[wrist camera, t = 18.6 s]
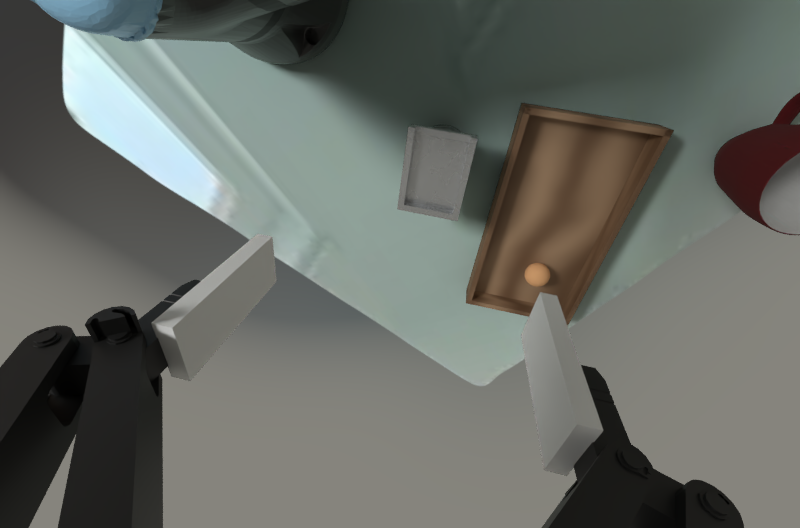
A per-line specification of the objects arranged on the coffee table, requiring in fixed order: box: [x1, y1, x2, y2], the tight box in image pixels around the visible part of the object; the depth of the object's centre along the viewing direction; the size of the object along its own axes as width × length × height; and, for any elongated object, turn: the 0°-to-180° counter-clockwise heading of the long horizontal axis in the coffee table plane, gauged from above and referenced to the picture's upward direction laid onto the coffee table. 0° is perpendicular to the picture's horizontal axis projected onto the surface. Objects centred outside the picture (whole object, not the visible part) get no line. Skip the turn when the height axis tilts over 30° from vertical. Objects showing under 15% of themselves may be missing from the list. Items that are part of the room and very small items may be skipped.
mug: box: [714, 93, 800, 235], centre depth 29 cm, size 11×8×10 cm
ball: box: [525, 263, 550, 287], centre depth 42 cm, size 3×3×3 cm
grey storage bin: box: [397, 124, 478, 221], centre depth 35 cm, size 6×8×8 cm
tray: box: [466, 103, 674, 325], centre depth 40 cm, size 14×25×3 cm, turn 173°
